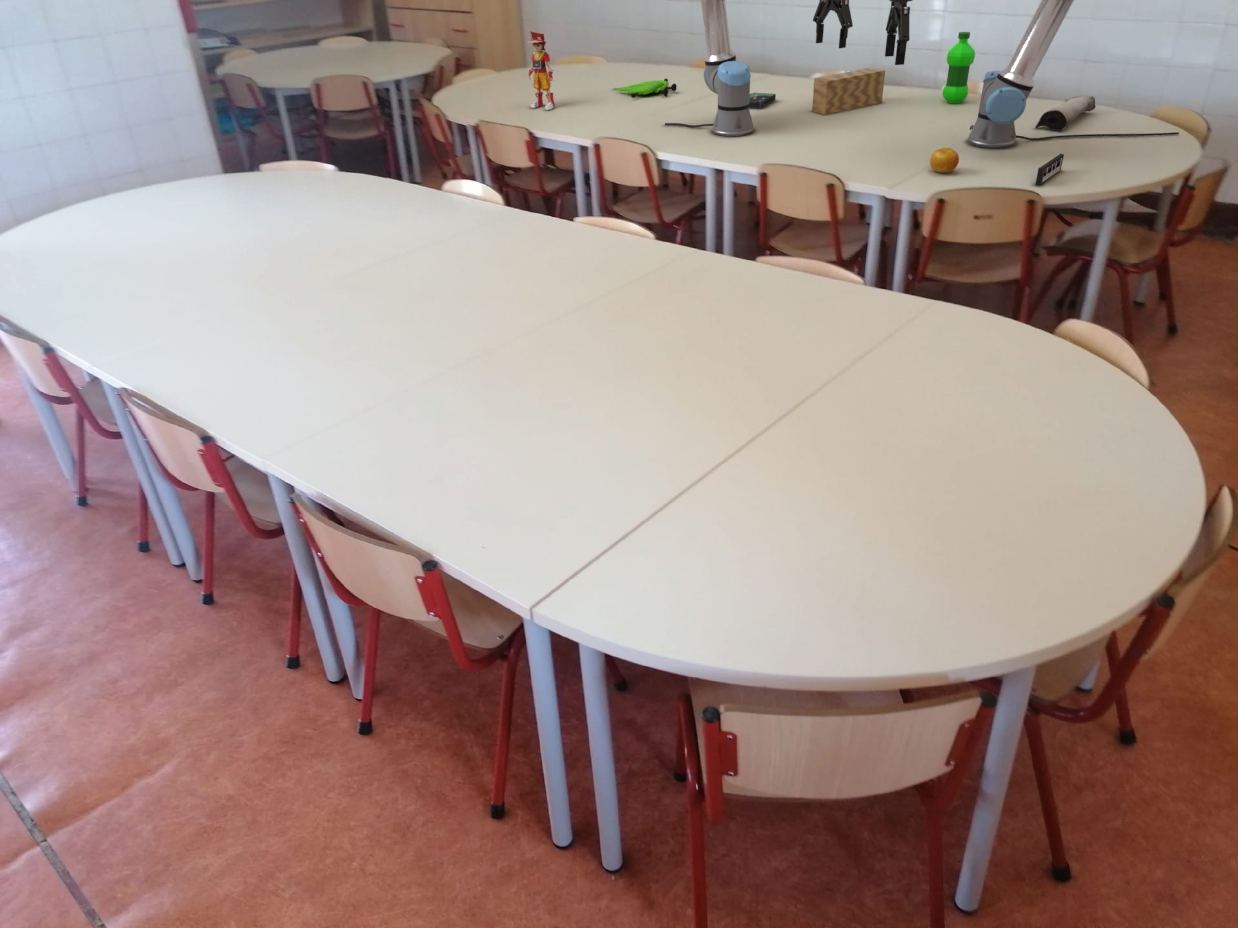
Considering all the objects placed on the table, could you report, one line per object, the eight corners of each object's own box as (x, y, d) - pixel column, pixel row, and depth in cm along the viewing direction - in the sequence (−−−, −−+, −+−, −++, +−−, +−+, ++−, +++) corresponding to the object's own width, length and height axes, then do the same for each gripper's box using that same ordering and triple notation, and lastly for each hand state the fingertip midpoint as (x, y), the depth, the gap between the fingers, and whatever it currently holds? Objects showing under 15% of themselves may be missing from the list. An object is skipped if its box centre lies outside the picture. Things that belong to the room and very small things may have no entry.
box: (824, 115, 349) (827, 81, 342) (812, 111, 355) (814, 78, 348) (881, 103, 360) (885, 70, 353) (868, 99, 366) (872, 67, 359)
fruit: (924, 163, 281) (941, 140, 278) (925, 165, 289) (941, 143, 286) (946, 178, 280) (963, 155, 277) (947, 180, 288) (963, 158, 285)
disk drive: (760, 109, 361) (775, 100, 371) (761, 102, 360) (776, 93, 370) (737, 107, 366) (752, 98, 376) (737, 100, 364) (753, 91, 374)
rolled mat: (1063, 100, 336) (1087, 83, 328) (1076, 121, 336) (1101, 104, 328) (1031, 122, 319) (1056, 104, 310) (1045, 143, 319) (1071, 126, 311)
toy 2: (686, 85, 398) (631, 84, 414) (685, 72, 395) (629, 72, 411) (651, 104, 381) (596, 103, 397) (650, 92, 378) (594, 91, 394)
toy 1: (525, 109, 381) (517, 32, 364) (534, 104, 388) (527, 28, 371) (550, 110, 377) (543, 32, 360) (559, 105, 384) (553, 28, 367)
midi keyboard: (1039, 185, 269) (1043, 168, 266) (1035, 184, 270) (1038, 168, 267) (1060, 170, 279) (1064, 154, 277) (1056, 169, 280) (1060, 153, 277)
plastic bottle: (973, 101, 354) (984, 32, 339) (955, 106, 349) (966, 36, 335) (952, 97, 361) (962, 29, 346) (934, 102, 356) (944, 33, 342)
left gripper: (866, -16, 320) (860, 48, 332) (822, -22, 338) (817, 39, 350) (850, -14, 317) (844, 51, 329) (806, -20, 336) (802, 42, 348)
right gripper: (925, -9, 267) (916, 67, 279) (904, -19, 287) (896, 52, 299) (900, -7, 267) (891, 69, 279) (881, -18, 287) (873, 53, 299)
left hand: (830, 45), depth 340 cm, fingers open, 13 cm apart
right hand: (894, 60), depth 289 cm, fingers open, 13 cm apart
